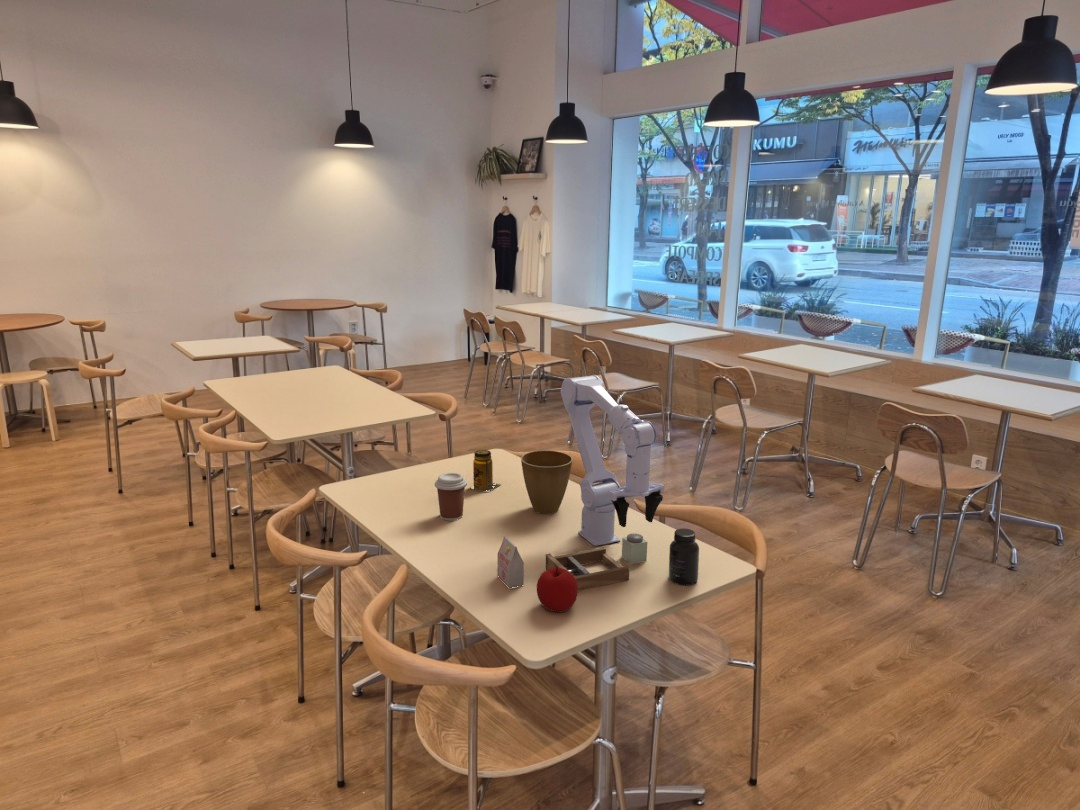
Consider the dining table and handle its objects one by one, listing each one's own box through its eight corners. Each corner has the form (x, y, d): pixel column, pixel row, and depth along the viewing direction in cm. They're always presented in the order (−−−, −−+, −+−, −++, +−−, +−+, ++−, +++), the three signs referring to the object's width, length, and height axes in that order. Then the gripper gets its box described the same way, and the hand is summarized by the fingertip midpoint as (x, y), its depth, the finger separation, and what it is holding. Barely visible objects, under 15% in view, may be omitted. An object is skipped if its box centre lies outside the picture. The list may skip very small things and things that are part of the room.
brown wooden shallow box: (545, 569, 177) (545, 554, 176) (603, 558, 184) (603, 543, 183) (567, 592, 166) (568, 576, 165) (628, 579, 173) (629, 564, 172)
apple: (586, 606, 161) (587, 564, 158) (559, 622, 154) (560, 579, 152) (554, 592, 166) (555, 552, 164) (527, 607, 160) (527, 565, 158)
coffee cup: (451, 525, 203) (451, 484, 200) (428, 517, 208) (427, 477, 205) (474, 515, 210) (473, 475, 207) (451, 507, 215) (450, 469, 213)
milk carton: (511, 573, 175) (511, 535, 173) (523, 585, 169) (523, 546, 167) (497, 576, 174) (497, 537, 171) (509, 589, 168) (509, 549, 165)
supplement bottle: (677, 569, 178) (679, 523, 175) (702, 578, 174) (705, 531, 171) (662, 580, 173) (665, 532, 170) (688, 588, 169) (691, 540, 166)
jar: (621, 556, 185) (622, 534, 183) (637, 553, 187) (638, 532, 185) (630, 564, 181) (631, 541, 179) (646, 561, 183) (647, 538, 181)
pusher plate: (553, 571, 177) (553, 559, 176) (571, 567, 179) (571, 556, 178) (570, 588, 168) (570, 576, 168) (589, 584, 170) (589, 572, 170)
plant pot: (510, 508, 215) (510, 456, 211) (547, 496, 225) (548, 447, 221) (544, 524, 204) (544, 469, 201) (582, 510, 214) (583, 458, 210)
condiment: (468, 489, 231) (467, 452, 228) (482, 481, 238) (482, 445, 235) (487, 493, 228) (487, 456, 225) (501, 484, 235) (501, 449, 232)
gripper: (620, 480, 172) (618, 533, 175) (672, 472, 177) (669, 524, 181) (605, 471, 178) (604, 523, 181) (656, 463, 184) (653, 514, 187)
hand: (635, 523), depth 181 cm, fingers open, 7 cm apart
